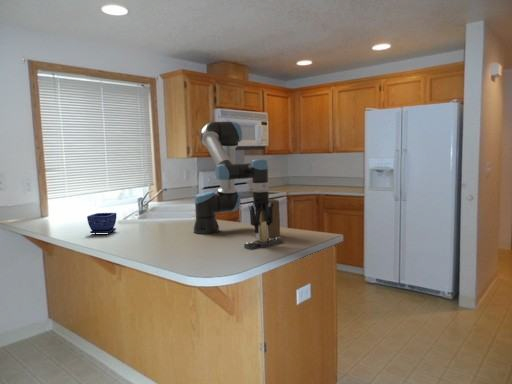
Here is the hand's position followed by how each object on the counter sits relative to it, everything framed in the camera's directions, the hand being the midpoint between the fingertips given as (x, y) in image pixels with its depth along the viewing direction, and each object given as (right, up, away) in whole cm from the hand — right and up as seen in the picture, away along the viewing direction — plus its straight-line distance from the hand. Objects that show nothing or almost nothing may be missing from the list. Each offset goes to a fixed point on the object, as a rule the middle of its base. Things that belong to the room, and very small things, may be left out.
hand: (262, 238), depth 189 cm
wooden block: (+4, -2, +20) cm, 20 cm away
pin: (0, -3, 0) cm, 4 cm away
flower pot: (-97, -3, +48) cm, 108 cm away
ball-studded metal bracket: (0, -3, 0) cm, 3 cm away
